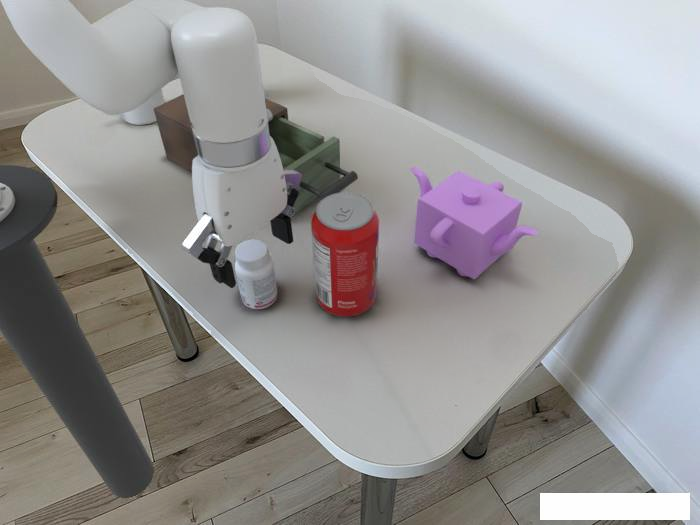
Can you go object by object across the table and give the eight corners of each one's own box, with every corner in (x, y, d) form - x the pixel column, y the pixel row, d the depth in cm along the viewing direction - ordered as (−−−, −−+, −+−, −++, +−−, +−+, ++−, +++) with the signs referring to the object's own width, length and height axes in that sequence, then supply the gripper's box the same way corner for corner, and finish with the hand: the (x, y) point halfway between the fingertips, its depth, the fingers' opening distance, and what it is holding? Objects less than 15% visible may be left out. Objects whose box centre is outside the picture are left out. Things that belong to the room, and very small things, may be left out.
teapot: (509, 222, 86) (523, 161, 78) (523, 288, 76) (541, 226, 69) (406, 219, 87) (411, 159, 79) (407, 284, 77) (413, 222, 69)
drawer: (368, 194, 89) (369, 152, 84) (315, 236, 83) (312, 192, 77) (272, 147, 99) (267, 106, 94) (217, 180, 92) (208, 138, 87)
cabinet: (292, 158, 98) (287, 107, 91) (232, 196, 91) (222, 144, 84) (226, 126, 106) (218, 77, 99) (167, 158, 98) (153, 108, 92)
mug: (110, 137, 103) (92, 84, 96) (96, 117, 108) (78, 65, 101) (173, 117, 108) (160, 65, 101) (158, 99, 113) (144, 48, 106)
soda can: (306, 311, 74) (298, 222, 63) (329, 270, 79) (325, 182, 68) (364, 328, 72) (366, 239, 61) (384, 284, 77) (388, 196, 66)
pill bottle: (282, 286, 77) (276, 239, 71) (271, 313, 74) (263, 266, 68) (248, 281, 78) (240, 234, 72) (236, 307, 74) (225, 260, 68)
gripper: (267, 95, 65) (282, 212, 77) (140, 164, 56) (180, 285, 68) (316, 116, 62) (324, 235, 74) (189, 193, 52) (222, 316, 64)
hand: (255, 259), depth 71 cm, fingers open, 9 cm apart
